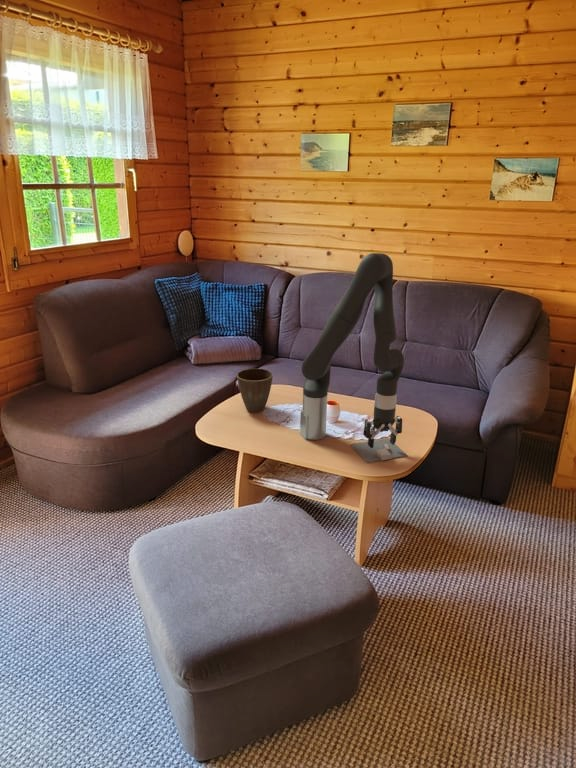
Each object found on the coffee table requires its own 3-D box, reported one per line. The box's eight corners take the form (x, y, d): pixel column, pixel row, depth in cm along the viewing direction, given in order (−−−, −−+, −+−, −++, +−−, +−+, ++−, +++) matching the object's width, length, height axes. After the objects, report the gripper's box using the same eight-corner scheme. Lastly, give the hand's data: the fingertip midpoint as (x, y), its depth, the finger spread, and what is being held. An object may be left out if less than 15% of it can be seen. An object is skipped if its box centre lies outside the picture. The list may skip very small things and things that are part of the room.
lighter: (382, 456, 195) (370, 446, 202) (381, 460, 196) (369, 450, 203) (398, 452, 198) (386, 443, 205) (398, 456, 199) (386, 447, 205)
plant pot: (252, 419, 227) (252, 383, 221) (230, 408, 237) (229, 373, 231) (279, 410, 236) (280, 375, 230) (257, 399, 246) (257, 365, 241)
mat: (367, 462, 195) (367, 461, 195) (350, 445, 207) (350, 443, 207) (407, 456, 200) (407, 455, 200) (388, 439, 212) (388, 438, 212)
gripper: (397, 398, 201) (393, 438, 206) (362, 402, 196) (359, 443, 202) (408, 406, 194) (404, 447, 200) (372, 411, 190) (368, 453, 195)
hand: (381, 445), depth 201 cm, fingers open, 8 cm apart
